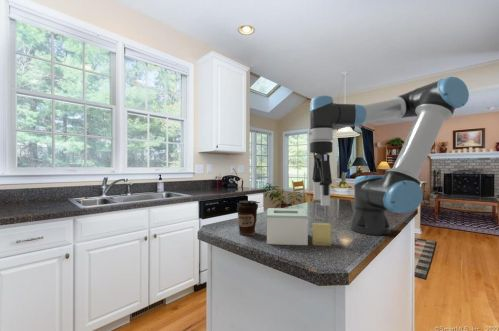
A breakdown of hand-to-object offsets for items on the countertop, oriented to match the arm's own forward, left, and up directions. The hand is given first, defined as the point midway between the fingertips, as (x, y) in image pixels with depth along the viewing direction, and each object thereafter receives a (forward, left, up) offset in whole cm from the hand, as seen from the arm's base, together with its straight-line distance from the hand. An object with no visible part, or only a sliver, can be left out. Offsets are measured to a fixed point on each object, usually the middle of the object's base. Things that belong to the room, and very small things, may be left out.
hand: (321, 202), depth 84 cm
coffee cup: (+27, -10, -15) cm, 32 cm away
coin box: (+12, -5, -14) cm, 19 cm away
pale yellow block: (0, 0, -15) cm, 15 cm away
